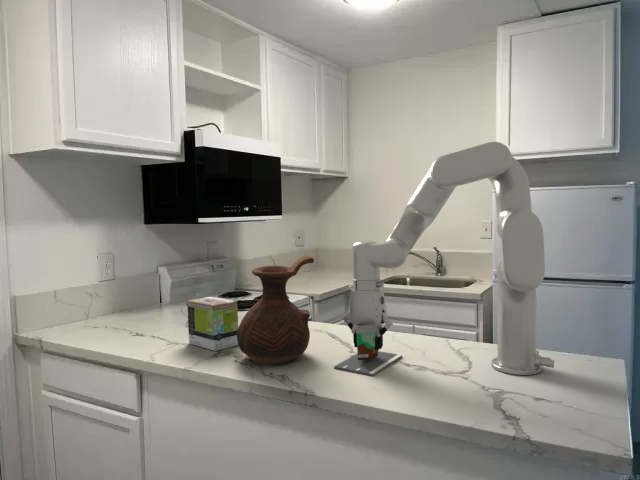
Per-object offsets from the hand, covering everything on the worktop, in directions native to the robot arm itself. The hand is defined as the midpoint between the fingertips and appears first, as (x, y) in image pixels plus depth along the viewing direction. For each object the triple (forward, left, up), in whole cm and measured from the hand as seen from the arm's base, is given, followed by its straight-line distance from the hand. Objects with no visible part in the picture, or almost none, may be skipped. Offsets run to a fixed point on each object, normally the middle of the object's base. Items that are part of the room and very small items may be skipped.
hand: (368, 347), depth 138 cm
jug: (+25, +11, -4) cm, 28 cm away
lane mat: (-1, +1, -4) cm, 4 cm away
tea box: (+52, +10, -4) cm, 53 cm away
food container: (-1, 0, -2) cm, 3 cm away
